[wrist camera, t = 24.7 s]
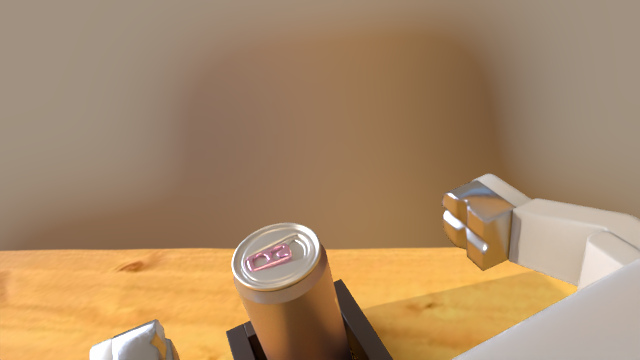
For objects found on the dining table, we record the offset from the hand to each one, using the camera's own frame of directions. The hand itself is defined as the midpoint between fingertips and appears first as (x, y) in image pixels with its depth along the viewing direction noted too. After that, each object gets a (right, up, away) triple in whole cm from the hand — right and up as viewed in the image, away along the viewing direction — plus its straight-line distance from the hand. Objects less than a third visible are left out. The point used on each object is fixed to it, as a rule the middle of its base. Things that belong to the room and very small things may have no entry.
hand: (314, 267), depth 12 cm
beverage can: (0, -14, +24) cm, 28 cm away
